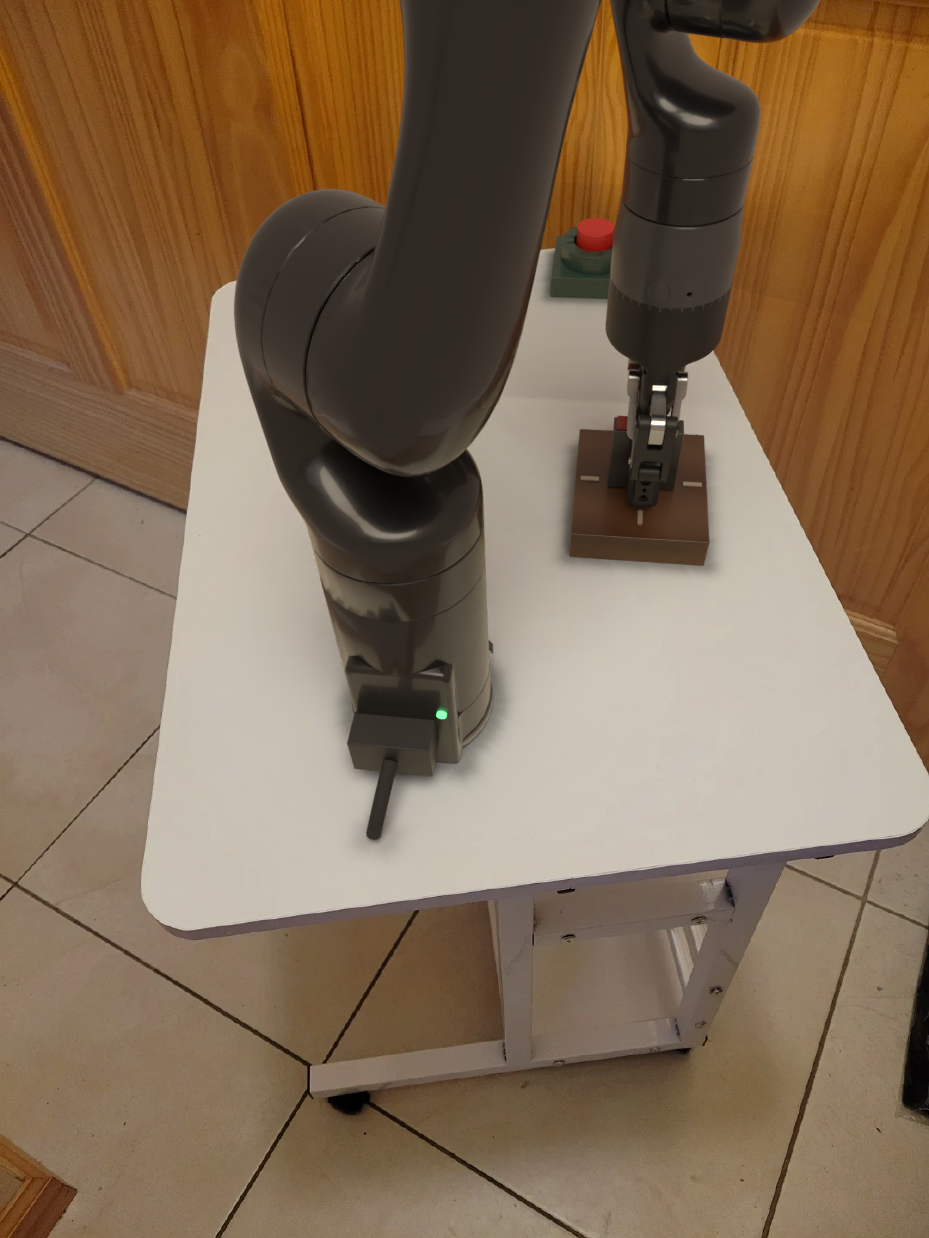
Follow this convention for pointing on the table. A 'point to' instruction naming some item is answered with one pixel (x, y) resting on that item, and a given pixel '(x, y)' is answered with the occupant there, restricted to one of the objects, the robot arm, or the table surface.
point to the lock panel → (639, 509)
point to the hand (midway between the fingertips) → (641, 473)
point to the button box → (579, 269)
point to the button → (595, 234)
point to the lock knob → (622, 452)
